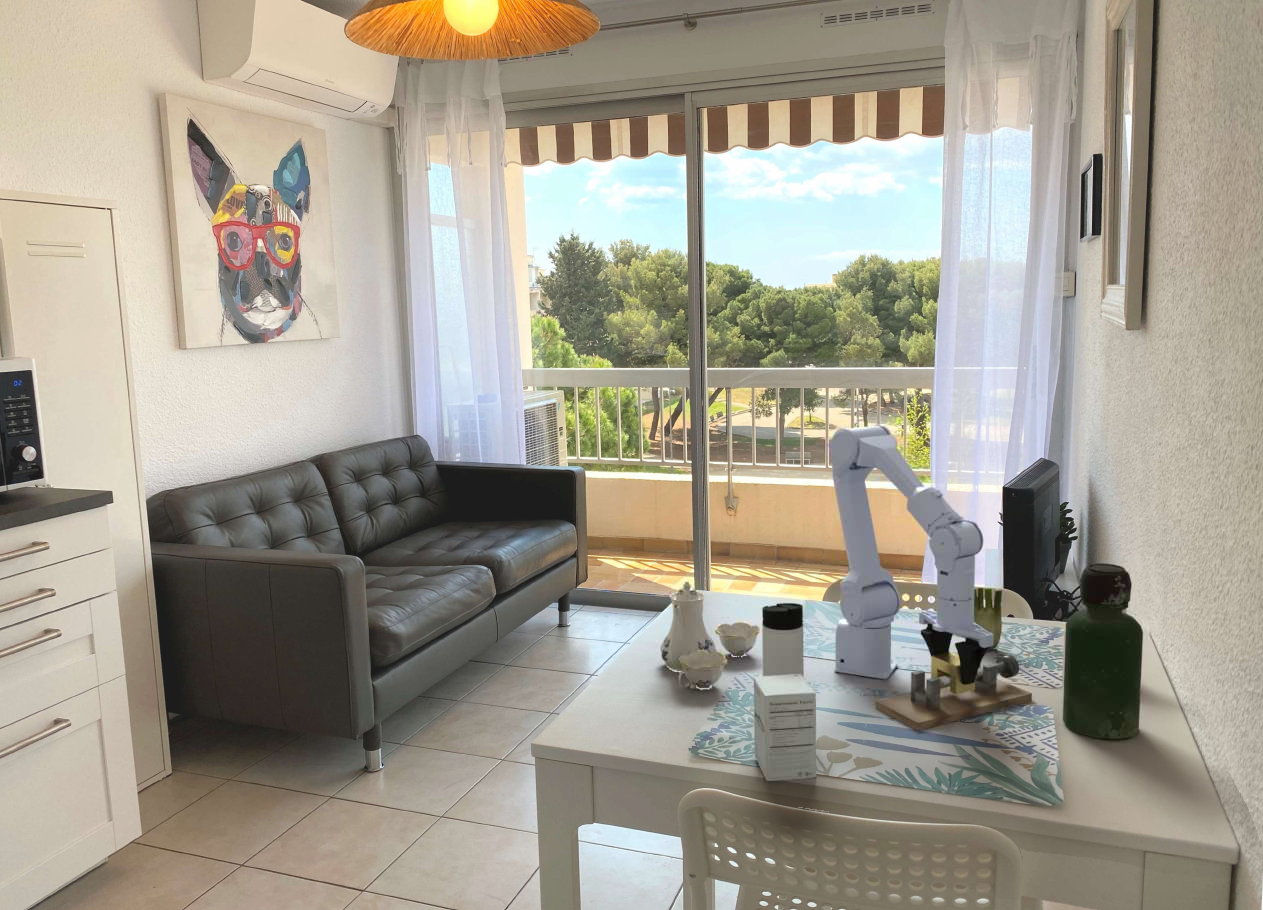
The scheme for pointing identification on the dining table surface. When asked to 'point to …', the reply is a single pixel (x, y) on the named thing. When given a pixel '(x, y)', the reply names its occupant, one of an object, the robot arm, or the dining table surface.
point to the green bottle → (1103, 657)
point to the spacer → (949, 671)
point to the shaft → (1005, 668)
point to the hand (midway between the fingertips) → (954, 677)
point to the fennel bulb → (988, 612)
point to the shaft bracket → (950, 700)
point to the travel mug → (782, 639)
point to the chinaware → (701, 640)
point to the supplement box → (785, 727)
